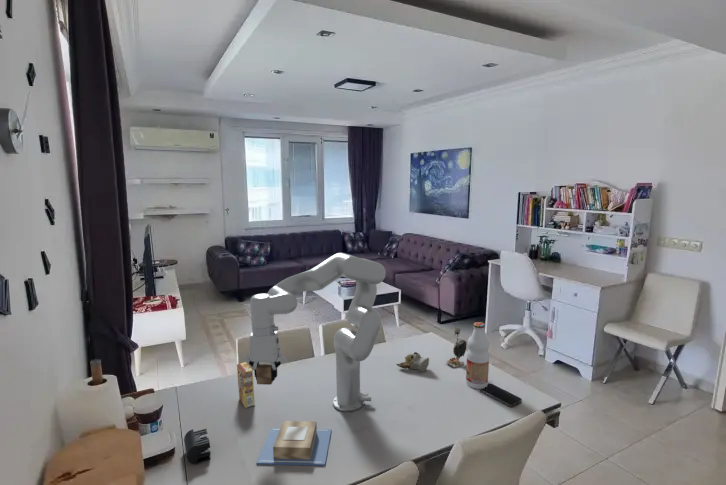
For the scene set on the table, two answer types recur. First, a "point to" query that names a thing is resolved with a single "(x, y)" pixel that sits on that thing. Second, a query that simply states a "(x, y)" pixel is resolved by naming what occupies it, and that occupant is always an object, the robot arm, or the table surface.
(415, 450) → the table surface
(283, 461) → the blueprint board
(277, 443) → the oak base block
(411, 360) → the ceramic sculpture
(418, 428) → the table surface
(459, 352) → the plant with pod
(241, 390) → the candy box
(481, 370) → the fruit juice
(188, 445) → the end cap
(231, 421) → the table surface
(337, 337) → the robot arm
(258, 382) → the walnut block
